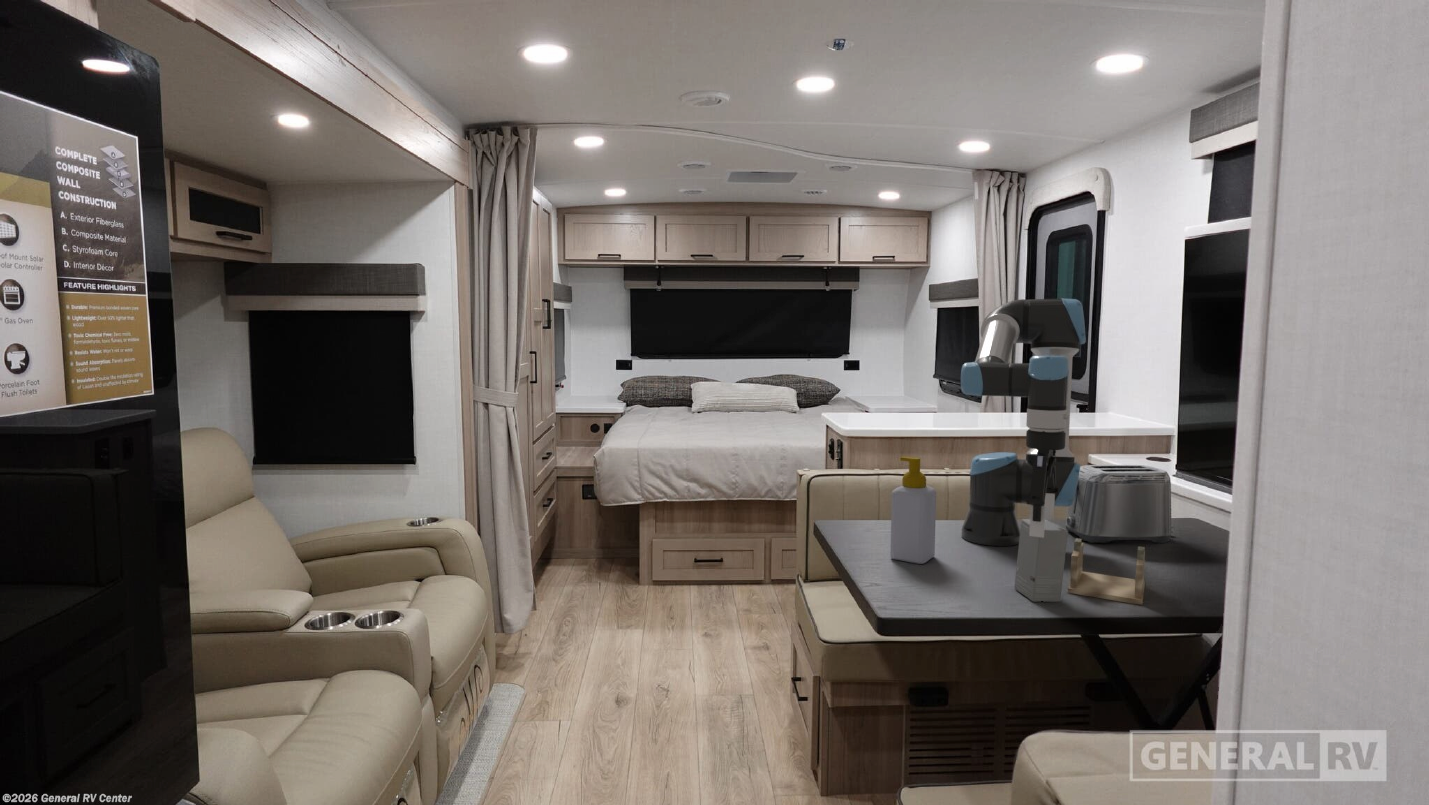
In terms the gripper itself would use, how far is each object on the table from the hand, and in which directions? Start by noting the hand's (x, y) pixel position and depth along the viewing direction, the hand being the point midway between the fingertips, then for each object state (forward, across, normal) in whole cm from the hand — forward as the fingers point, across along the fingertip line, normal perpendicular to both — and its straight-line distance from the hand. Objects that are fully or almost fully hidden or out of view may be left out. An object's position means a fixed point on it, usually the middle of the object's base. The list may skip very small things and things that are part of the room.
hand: (1041, 529), depth 159 cm
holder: (+14, +12, -12) cm, 22 cm away
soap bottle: (+14, +12, +31) cm, 37 cm away
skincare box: (+15, 0, 0) cm, 15 cm away
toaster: (+14, +61, -12) cm, 63 cm away
